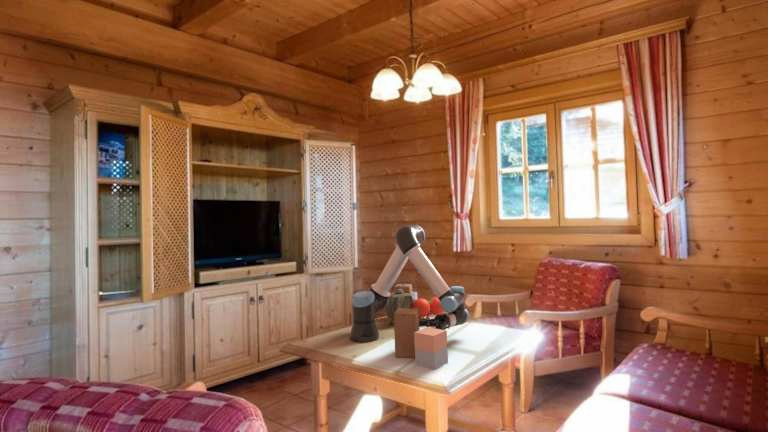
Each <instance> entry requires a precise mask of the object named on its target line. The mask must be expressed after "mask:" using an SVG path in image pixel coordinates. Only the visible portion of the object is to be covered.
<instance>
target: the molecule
mask: <svg viewBox="0 0 768 432" xmlns="http://www.w3.org/2000/svg"><path fill="white" fill-rule="evenodd" d="M440 303H441V302H440V301H439V299H438V298H437V296H434V297H432V298H430V299H429V300H427V299H425V298H417V299H415V300H414V301H413V305H412V309H418V310H419V319H425V318H429V319H434V318H435V317H436V315H438V314H442V313H445V311H444V310H443V309H442V308H441V305H440ZM432 315H433V316H434V317H433V318H431V317H430V316H432Z"/></svg>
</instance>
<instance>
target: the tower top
mask: <svg viewBox="0 0 768 432" xmlns="http://www.w3.org/2000/svg"><path fill="white" fill-rule="evenodd" d="M435 328H436V327H435ZM435 328H429V327H427V326H425V327H424V328H422V329H419V331H416V332H414V343H415V349H419V350H423V351H428V352H433V353H435V352H437V351H439V350H441V349H444V348H446V347H448V331H447V329H445V330H441V329H435Z"/></svg>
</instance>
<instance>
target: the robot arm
mask: <svg viewBox="0 0 768 432" xmlns="http://www.w3.org/2000/svg"><path fill="white" fill-rule="evenodd" d="M425 239H426V233H425V230H424V229H423V228H422V227H421V226H420V225H417V224H409V225H401V226H400V227H399V228H397V230H396V231H395V234H394V240H395V249H394V251H393V252H392V254H391V256H390V257H389V260H388V261H387V263H386V265H385V267H384V268H383V270H382V272H381V273H380V275H379V277H378V279H377V280H376V282H375V283H372V284H371V285H370V288H369V289H368V290H363V291H362V290H361V291H357V292H356V293H354V294H353V295H352V299H351V305H352V307H351V308H352V309H351V310H352V311H351V312H352V325H351V329H350V332H349V339H350V341H352V342H357V343H367V342H373V341H374V342H375V341H377V340H379V338H380V333H379V331H378V327H377V324H376V314H377V313H378V312H381V311H383V310H384V309H386V308H385V307H386V306H387V304H388V298H389V297H390V293H391V292H390V291H391V289H392V287H394V284H395V282H397V280H398V279H397V278H399V276H400V274H401V272H402V271H403V269H404V267H405V265H406V264H407V262H408V260H410V262H411V263H412V265H413V266H414V267H415V269H416V270H417V272H418V273H419V275H420V276H421V277H422V279H423V280H424V281H425V283H426V284H427V286H428V287H429V288H430V289H431V292H432V293H434V295H435V297H437V298H438V299H439V301H440V302H441V303H440V305H441V308H442V309H443V310H444V312H443V313H442V314H438V315H435V316H434V317H435V318H434V317H433V319H432V318H430V317H429V318H430V319H429V318H426V317H424V318H425V319H419V327H429V328H435V329H441V330H447V329H448V330H449V329H450V328H454V327H457V326H461V325H464V324H467V322H469V320H470V313H469V311H468V309H466V307H465V306H466V305H465V301H466V299H465V298H466V297H465V294H466V293H465V287H463V286H461V285H452V286H450V287H449V285H448V284H447V283H446V281H445V280H444V279H443V277H442V276H441V274H440V273H439V272H438V270H437V269H436V268H435V266H434V265H433V263H432V262H431V260H430V259H429V258H428V256H427V255H426V254H425V253H424V251H423V250H422V248H421V245H423V244H424V242H425V241H426V240H425Z"/></svg>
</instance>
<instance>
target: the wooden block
mask: <svg viewBox="0 0 768 432" xmlns="http://www.w3.org/2000/svg"><path fill="white" fill-rule="evenodd" d="M393 324H394V326H393V327H394V331H393V332H394V356H395V358H408V359H410V358H411V359H415V343H414V332H416V331H419V330H420V326H419V310H418V309H401V308H398V309H397V310H396V312H395V313H394V320H393Z"/></svg>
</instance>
